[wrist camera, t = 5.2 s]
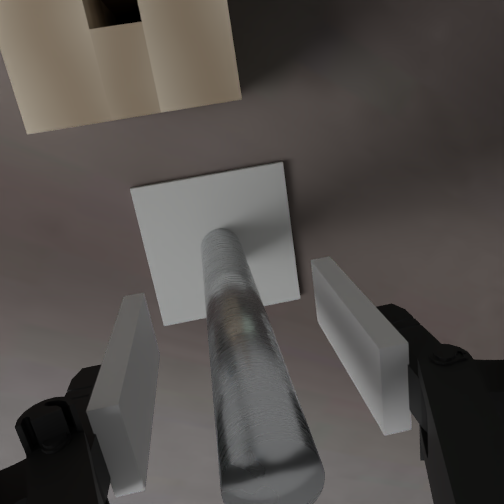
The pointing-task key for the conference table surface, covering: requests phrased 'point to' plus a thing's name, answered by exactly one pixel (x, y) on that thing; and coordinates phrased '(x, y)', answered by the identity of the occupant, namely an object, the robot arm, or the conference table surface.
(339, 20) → the conference table surface
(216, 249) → the steel pin
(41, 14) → the maple block
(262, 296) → the mat
